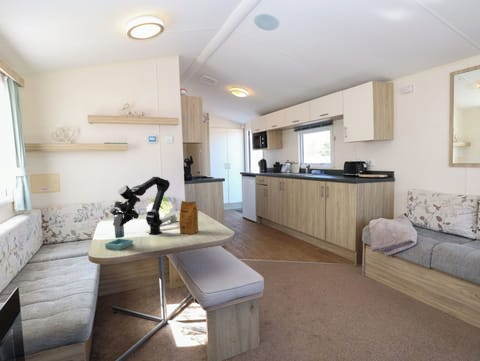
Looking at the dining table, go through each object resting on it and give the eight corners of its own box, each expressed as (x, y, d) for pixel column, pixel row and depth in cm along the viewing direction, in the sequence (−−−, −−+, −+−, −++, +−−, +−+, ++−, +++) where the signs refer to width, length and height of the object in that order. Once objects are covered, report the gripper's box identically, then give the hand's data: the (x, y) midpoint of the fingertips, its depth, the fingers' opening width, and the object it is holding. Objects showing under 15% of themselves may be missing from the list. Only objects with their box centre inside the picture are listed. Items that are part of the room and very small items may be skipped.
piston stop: (122, 234, 171) (121, 213, 170) (125, 236, 168) (124, 215, 166) (114, 236, 168) (112, 215, 167) (117, 238, 164) (115, 216, 163)
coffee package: (185, 229, 202) (183, 199, 200) (200, 231, 198) (199, 200, 196) (177, 233, 193) (175, 202, 191) (193, 235, 189) (191, 202, 187)
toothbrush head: (148, 222, 213) (173, 212, 233) (149, 230, 214) (174, 219, 234) (152, 223, 210) (177, 212, 230) (154, 231, 211) (178, 220, 231)
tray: (119, 243, 176) (118, 238, 175) (132, 244, 172) (132, 239, 172) (105, 248, 166) (105, 243, 165) (119, 250, 162) (119, 245, 162)
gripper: (111, 195, 173) (96, 217, 164) (133, 196, 165) (120, 219, 156) (122, 205, 181) (109, 227, 172) (144, 207, 173) (131, 229, 164)
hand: (117, 225), depth 166 cm, fingers closed on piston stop, 5 cm apart
